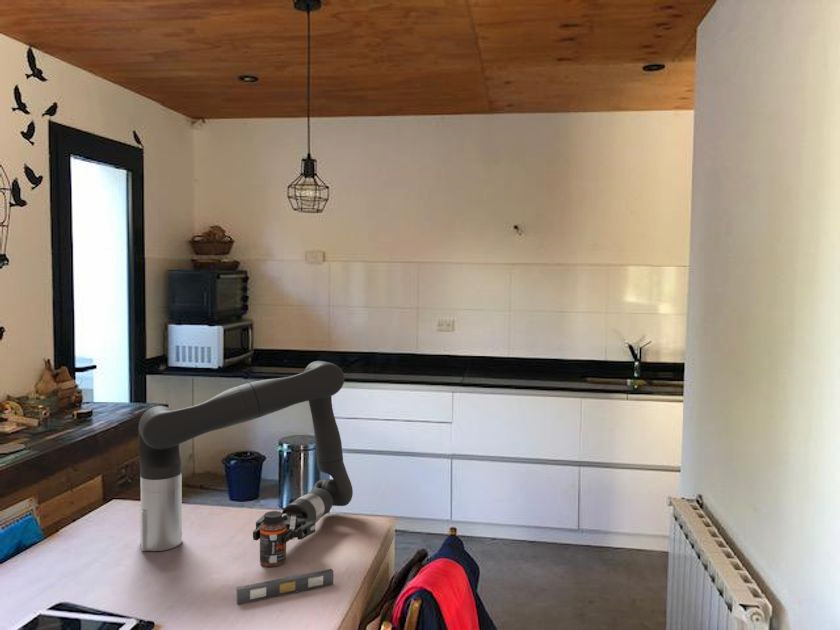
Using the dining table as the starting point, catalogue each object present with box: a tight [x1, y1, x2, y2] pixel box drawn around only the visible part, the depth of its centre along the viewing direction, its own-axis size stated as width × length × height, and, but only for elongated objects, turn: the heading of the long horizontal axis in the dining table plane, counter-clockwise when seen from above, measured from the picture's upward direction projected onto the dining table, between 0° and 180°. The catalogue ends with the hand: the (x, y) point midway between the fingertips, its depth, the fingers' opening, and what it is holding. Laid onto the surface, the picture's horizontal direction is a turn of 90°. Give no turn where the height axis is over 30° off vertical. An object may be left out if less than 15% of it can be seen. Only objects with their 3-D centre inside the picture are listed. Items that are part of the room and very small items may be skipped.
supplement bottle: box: [259, 510, 287, 568], centre depth 149 cm, size 6×6×11 cm
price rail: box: [236, 568, 335, 605], centre depth 135 cm, size 20×2×3 cm, turn 116°
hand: (267, 538), depth 147 cm, fingers closed on supplement bottle, 6 cm apart
